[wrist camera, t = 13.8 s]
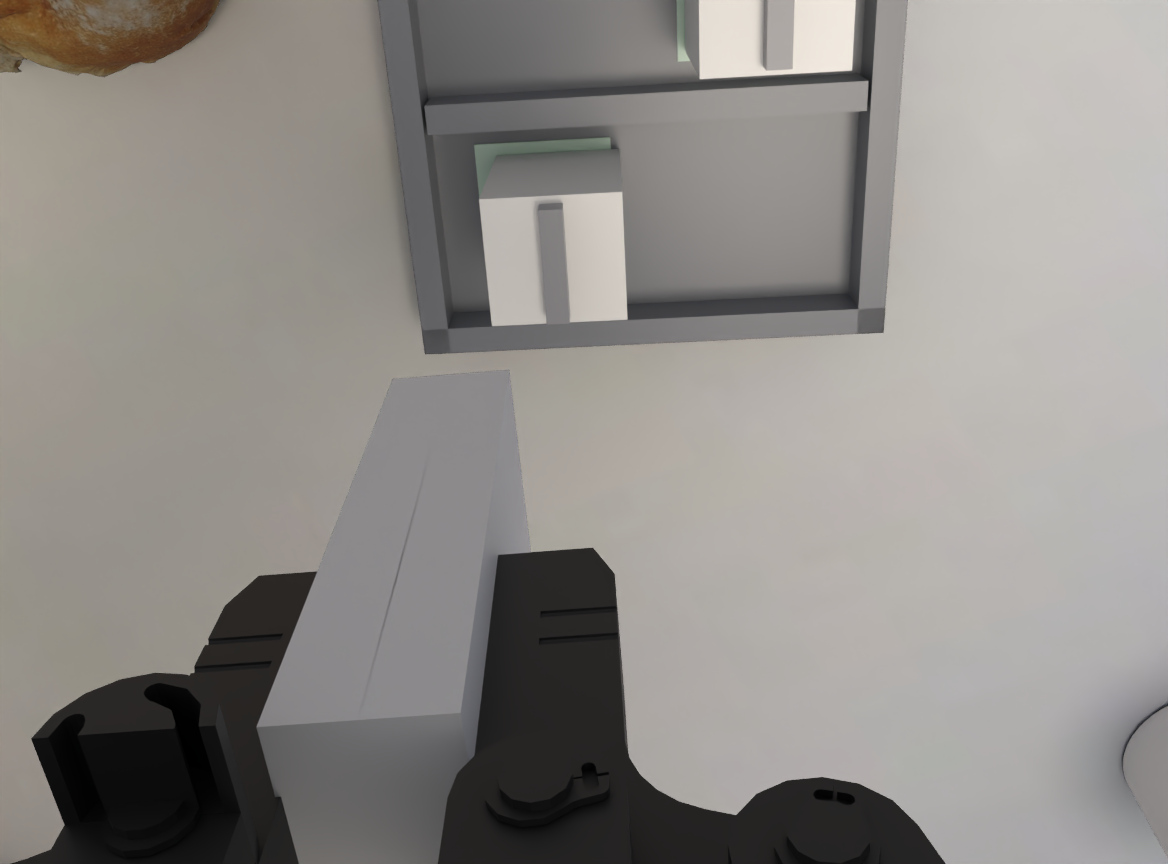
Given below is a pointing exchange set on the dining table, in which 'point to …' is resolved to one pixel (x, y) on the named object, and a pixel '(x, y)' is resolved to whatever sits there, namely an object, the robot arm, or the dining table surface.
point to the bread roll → (97, 32)
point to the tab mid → (768, 37)
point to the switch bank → (649, 167)
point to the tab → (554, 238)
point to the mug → (1150, 772)
